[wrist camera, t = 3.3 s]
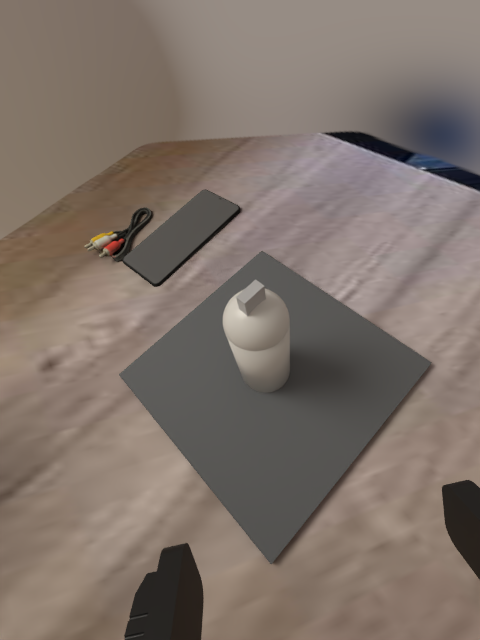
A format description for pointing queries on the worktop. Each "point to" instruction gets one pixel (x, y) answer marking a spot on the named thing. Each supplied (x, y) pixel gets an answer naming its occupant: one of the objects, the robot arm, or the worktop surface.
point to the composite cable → (119, 237)
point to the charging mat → (274, 401)
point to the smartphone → (180, 237)
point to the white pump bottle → (259, 337)
